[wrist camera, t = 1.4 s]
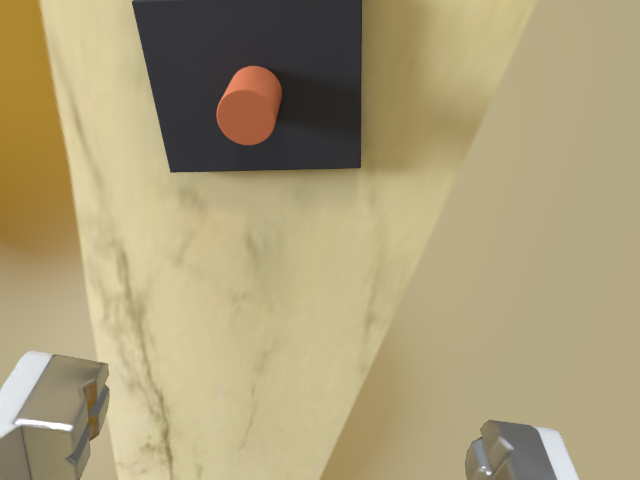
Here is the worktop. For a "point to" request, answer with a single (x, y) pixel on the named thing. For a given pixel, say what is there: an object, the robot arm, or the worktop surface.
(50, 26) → the worktop surface
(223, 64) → the tab pad
